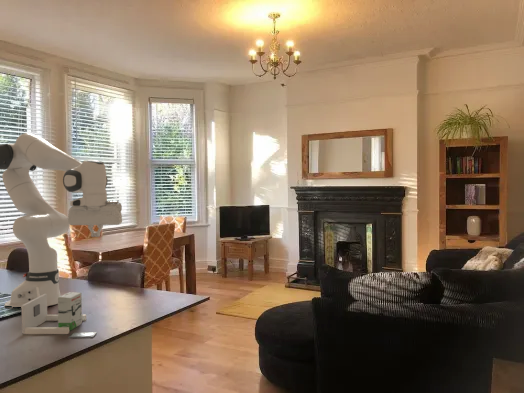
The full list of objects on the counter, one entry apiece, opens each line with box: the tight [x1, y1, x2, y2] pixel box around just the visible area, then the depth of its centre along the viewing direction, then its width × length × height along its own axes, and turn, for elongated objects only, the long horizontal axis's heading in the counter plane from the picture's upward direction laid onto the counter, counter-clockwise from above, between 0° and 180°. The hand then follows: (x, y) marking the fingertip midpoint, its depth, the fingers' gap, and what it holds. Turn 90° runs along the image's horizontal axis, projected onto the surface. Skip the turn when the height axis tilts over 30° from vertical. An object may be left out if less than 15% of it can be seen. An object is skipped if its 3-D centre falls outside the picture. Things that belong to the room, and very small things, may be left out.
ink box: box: [57, 291, 83, 331], centre depth 166 cm, size 9×5×12 cm, turn 174°
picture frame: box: [67, 331, 97, 339], centre depth 157 cm, size 8×4×1 cm, turn 93°
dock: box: [20, 294, 87, 335], centre depth 167 cm, size 16×16×10 cm
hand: (95, 236), depth 179 cm, fingers closed
